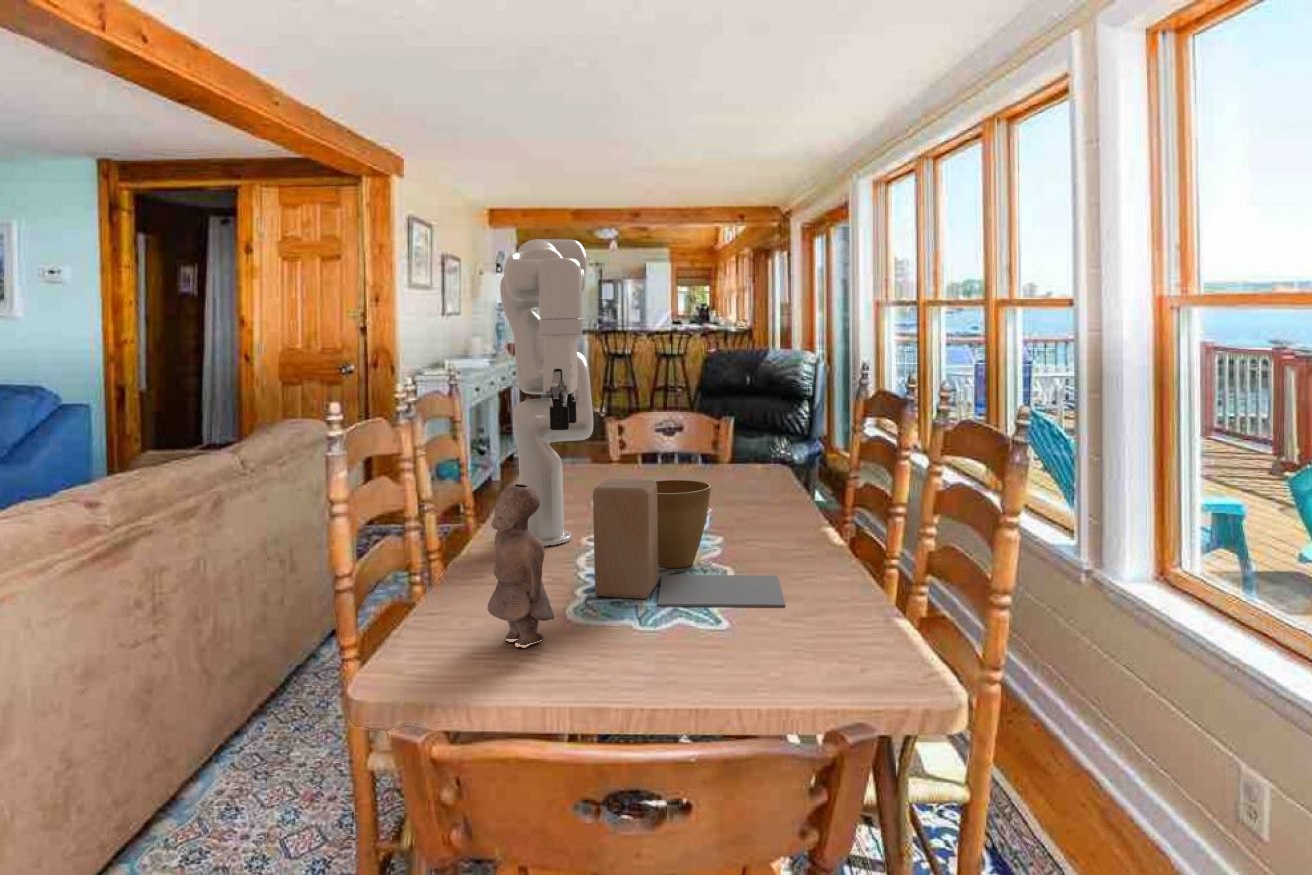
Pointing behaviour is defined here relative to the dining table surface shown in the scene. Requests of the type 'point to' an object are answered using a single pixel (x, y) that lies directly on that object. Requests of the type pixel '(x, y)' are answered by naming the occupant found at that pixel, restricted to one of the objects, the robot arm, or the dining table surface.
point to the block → (625, 538)
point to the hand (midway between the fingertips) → (563, 426)
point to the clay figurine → (519, 566)
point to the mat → (721, 591)
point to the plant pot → (680, 520)
